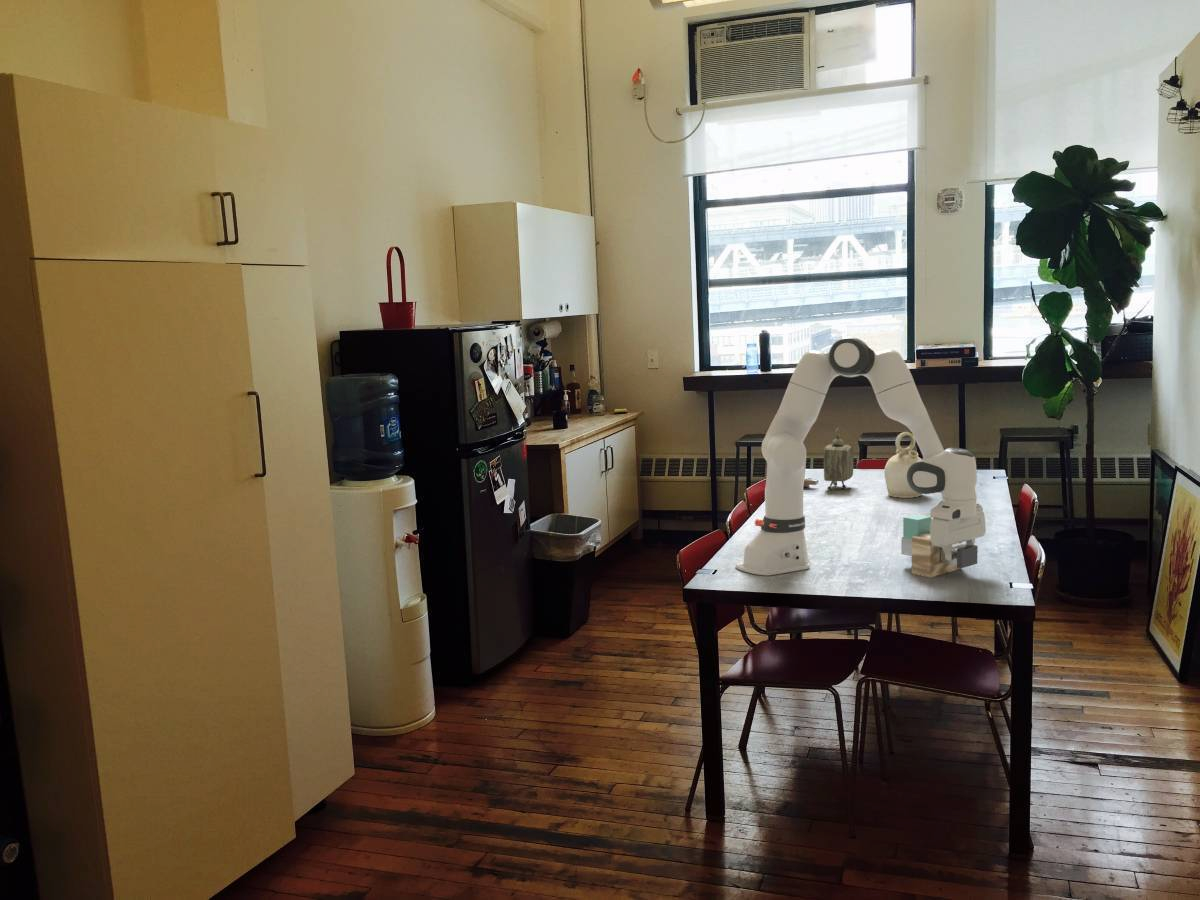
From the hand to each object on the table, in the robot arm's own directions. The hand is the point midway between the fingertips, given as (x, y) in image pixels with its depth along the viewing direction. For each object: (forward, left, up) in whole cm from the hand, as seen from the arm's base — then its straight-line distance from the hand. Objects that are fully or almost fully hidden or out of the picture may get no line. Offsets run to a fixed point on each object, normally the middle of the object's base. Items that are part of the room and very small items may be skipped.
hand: (958, 557), depth 272 cm
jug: (+83, +82, -6) cm, 117 cm away
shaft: (0, +7, -2) cm, 7 cm away
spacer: (0, +14, +3) cm, 14 cm away
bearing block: (0, +7, -5) cm, 9 cm away
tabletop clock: (+77, +110, -5) cm, 134 cm away
